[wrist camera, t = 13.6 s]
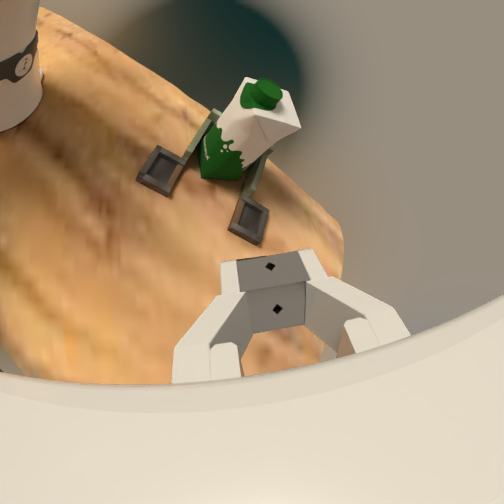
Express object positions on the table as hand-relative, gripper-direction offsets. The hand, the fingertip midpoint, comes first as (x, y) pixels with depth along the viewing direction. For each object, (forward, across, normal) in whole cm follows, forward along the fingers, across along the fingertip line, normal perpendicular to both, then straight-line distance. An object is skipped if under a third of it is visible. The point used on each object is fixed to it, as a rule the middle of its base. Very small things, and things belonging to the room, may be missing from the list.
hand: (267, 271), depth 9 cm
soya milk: (+42, -3, -7) cm, 43 cm away
